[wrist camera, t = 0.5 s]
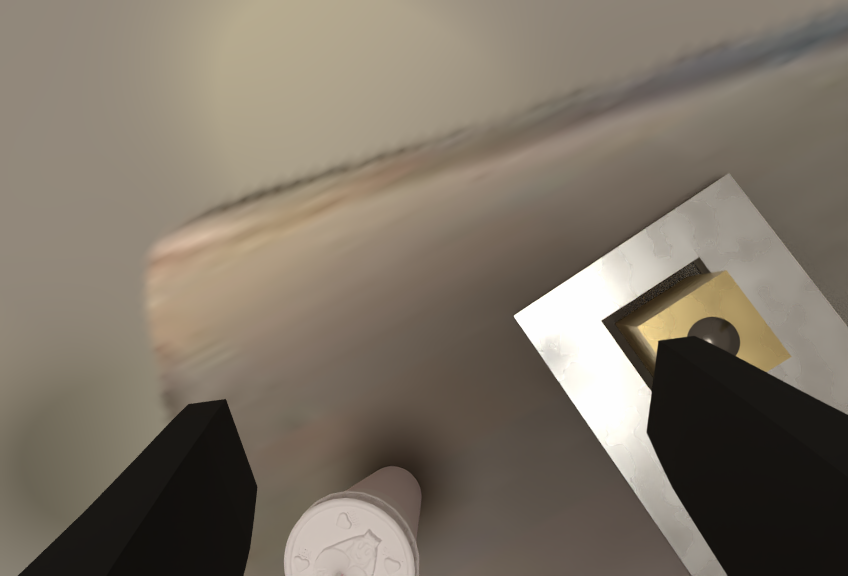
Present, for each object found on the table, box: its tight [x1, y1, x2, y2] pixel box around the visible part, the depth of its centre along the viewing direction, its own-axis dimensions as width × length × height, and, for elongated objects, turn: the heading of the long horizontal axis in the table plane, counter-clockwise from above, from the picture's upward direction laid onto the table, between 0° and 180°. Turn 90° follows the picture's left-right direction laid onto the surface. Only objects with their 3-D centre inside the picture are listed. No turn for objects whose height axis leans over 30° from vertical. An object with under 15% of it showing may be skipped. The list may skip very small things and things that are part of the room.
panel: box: [514, 173, 848, 576], centre depth 30 cm, size 24×14×2 cm, turn 35°
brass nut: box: [615, 270, 792, 378], centre depth 29 cm, size 5×5×6 cm
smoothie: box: [284, 466, 422, 576], centre depth 27 cm, size 6×6×14 cm
